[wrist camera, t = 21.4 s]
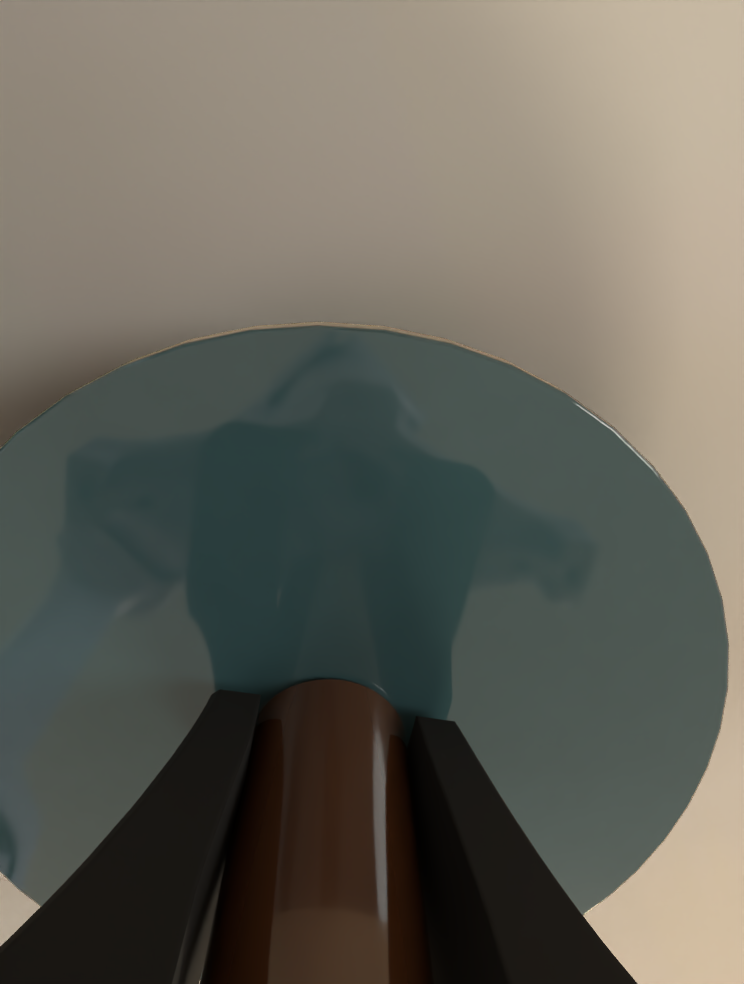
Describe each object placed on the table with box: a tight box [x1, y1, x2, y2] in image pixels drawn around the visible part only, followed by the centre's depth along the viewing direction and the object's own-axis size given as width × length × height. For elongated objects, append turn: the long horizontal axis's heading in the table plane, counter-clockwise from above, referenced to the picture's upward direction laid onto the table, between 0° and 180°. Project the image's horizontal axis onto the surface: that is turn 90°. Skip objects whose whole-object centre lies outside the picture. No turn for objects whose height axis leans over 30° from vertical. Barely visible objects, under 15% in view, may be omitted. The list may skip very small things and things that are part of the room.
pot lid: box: [0, 322, 729, 984], centre depth 8 cm, size 13×13×6 cm
